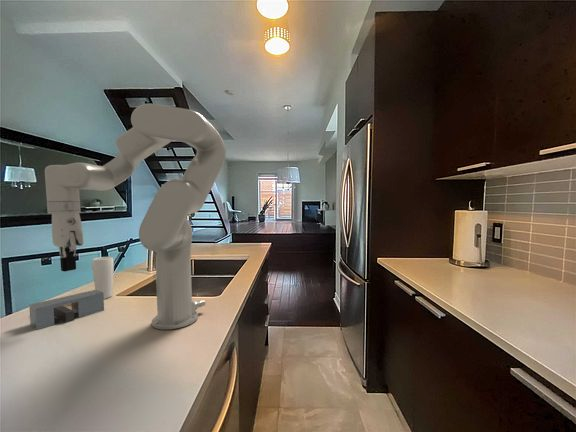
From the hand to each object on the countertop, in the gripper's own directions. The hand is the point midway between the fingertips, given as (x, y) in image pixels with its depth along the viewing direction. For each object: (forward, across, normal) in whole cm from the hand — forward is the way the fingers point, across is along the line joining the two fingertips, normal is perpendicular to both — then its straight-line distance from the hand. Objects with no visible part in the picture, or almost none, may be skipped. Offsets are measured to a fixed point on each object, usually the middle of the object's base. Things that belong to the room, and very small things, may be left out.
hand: (68, 270), depth 81 cm
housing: (+16, +6, -1) cm, 17 cm away
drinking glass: (+16, +18, -16) cm, 28 cm away
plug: (+16, +10, 0) cm, 19 cm away
